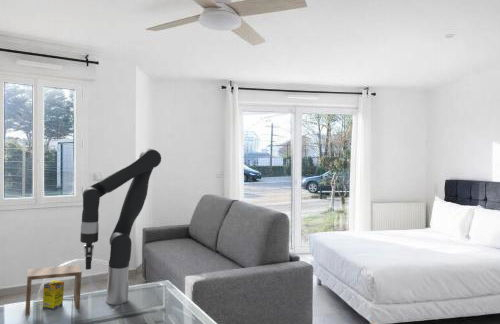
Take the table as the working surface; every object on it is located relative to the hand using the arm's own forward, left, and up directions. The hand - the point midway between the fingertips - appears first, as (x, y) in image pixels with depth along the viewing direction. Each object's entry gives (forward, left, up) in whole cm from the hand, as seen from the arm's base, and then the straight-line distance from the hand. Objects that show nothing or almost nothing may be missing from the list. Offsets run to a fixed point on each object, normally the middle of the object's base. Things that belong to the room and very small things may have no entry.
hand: (88, 266), depth 173 cm
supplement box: (+13, -4, -19) cm, 23 cm away
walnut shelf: (+13, -4, -18) cm, 23 cm away
